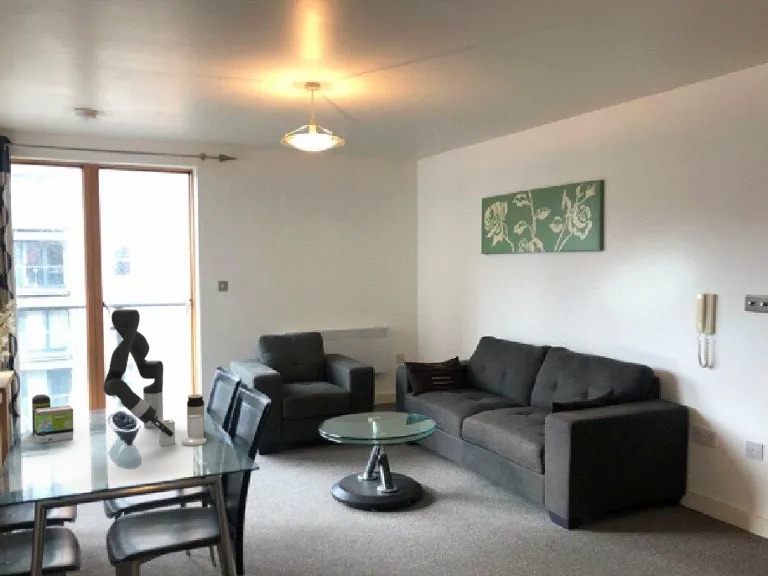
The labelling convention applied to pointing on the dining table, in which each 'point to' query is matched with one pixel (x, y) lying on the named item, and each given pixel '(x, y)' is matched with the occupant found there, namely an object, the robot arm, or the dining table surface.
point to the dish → (193, 441)
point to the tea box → (53, 424)
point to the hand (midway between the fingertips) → (170, 433)
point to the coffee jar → (39, 405)
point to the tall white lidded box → (195, 426)
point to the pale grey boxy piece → (163, 437)
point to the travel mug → (195, 406)
